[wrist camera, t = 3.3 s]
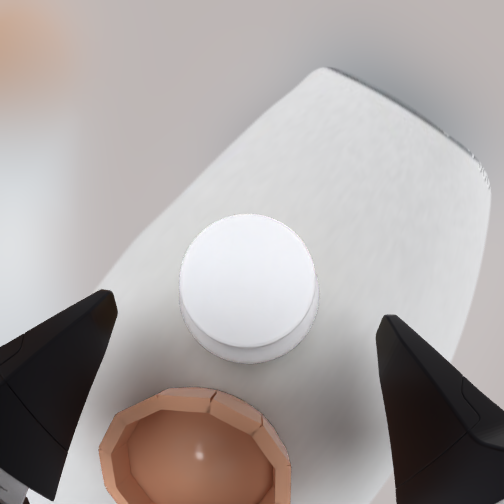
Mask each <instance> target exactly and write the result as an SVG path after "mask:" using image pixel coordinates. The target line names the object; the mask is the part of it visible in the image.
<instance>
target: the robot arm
mask: <svg viewBox="0 0 504 504" xmlns="http://www.w3.org/2000/svg"><path fill="white" fill-rule="evenodd" d="M117 314H118V310H117V306H116V302H115V298H114V295H113V292H112V291H110V290H103V289H101V290H99V291H97V292H95V293H94V294H92V295H90V296H88V297H86V298H85V299H83V300H81V301H79V302H77V303H76V304H74V305H72V306H70V307H69V308H67V309H65V310H63V311H62V312H60V313H58V314H56V315H55V316H53V317H51V318H49V319H48V320H46V321H44V322H43V323H41V324H39V325H37V326H36V327H34V328H32V329H31V330H29V331H27V332H26V333H25V334H22V335H21V336H19V337H17V338H16V339H14V340H12V341H10V342H9V343H7V344H5V345H3V346H1V347H0V504H30V503H29V501H28V498H27V497H26V494H27V491H28V488H30V489H31V490H33V491H35V492H37V493H38V494H40V495H42V496H44V497H45V498H47V499H49V500H51V501H54V499H55V495H56V492H57V488H58V484H59V481H60V477H61V474H62V470H63V467H64V464H65V460H66V457H67V454H68V450H69V447H70V444H71V441H72V438H73V435H74V432H75V429H76V426H77V424H78V421H79V418H80V415H81V413H82V410H83V407H84V404H85V402H86V399H87V397H88V394H89V391H90V389H91V386H92V384H93V381H94V379H95V376H96V374H97V371H98V369H99V367H100V364H101V362H102V359H103V357H104V355H105V352H106V349H107V346H108V343H109V340H110V337H111V333H112V330H113V327H114V324H115V321H116V318H117ZM376 346H377V356H378V367H379V377H380V384H381V389H382V394H383V400H384V405H385V411H386V417H387V423H388V430H389V436H390V444H391V451H392V459H393V468H394V476H395V487H396V502H397V504H504V411H503V410H502V409H501V408H500V407H499V406H497V405H496V404H495V403H493V402H492V401H491V400H490V399H489V398H488V397H486V396H485V395H484V394H483V393H482V392H481V391H479V390H478V389H477V388H476V387H475V386H474V385H473V384H472V383H471V382H470V381H468V380H467V379H466V378H465V377H464V376H463V375H462V374H461V373H460V372H459V371H458V370H457V369H456V368H455V367H454V366H453V365H451V364H450V363H449V362H448V361H447V360H446V359H445V358H444V357H443V356H442V355H441V354H439V353H438V352H437V351H436V350H435V349H434V348H433V347H432V346H431V345H430V344H428V343H427V342H426V341H425V340H424V339H423V338H422V337H421V336H420V335H418V334H417V333H416V332H415V331H414V330H413V329H412V328H410V327H409V326H408V325H407V324H406V323H405V322H404V321H402V320H401V319H400V318H399V317H398V316H397V315H384V316H383V318H382V320H381V323H380V325H379V328H378V330H377V333H376Z"/></svg>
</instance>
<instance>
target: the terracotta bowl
mask: <svg viewBox="0 0 504 504" xmlns="http://www.w3.org/2000/svg"><path fill="white" fill-rule="evenodd" d="M99 448H100V449H99V456H100V462H101V468H102V474H103V479H104V485H105V487H107V488H106V489H107V491H108V492H109V493H110V495H111V496H112V497H113V499H114V500H115V501H116V503H117V504H290V494H291V464H290V460H289V456H288V452H287V449H286V447H285V446H284V445H283V443H282V442H281V440H280V438H279V436H278V434H277V432H276V431H275V429H274V427H273V426H272V425H271V424H270V422H269V421H268V420H267V419H266V418H265V417H264V415H263V414H261V412H259V411H258V410H256V409H255V408H254V407H252V406H251V405H250V404H248V403H246V402H245V401H243V400H241V399H239V398H237V397H235V396H233V395H230V394H228V393H225V392H222V391H219V390H214V389H209V388H201V387H182V388H168V389H166V390H164V391H162V392H160V393H158V394H156V395H154V396H152V397H150V398H148V399H146V400H143V401H141V402H139V403H137V404H135V405H133V406H131V407H129V408H127V409H125V410H123V411H121V412H118V413H117V414H116V415H115V416H114V418H113V420H112V422H111V424H110V426H109V428H108V430H107V432H106V434H105V436H104V438H103V440H102V442H101V444H100V446H99Z"/></svg>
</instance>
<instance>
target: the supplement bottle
mask: <svg viewBox="0 0 504 504" xmlns="http://www.w3.org/2000/svg"><path fill="white" fill-rule="evenodd" d="M319 299H320V291H319V282H318V277H317V274H316V271H315V267H314V263H313V259H312V257H311V255H310V252H309V250H308V248H307V247H306V245H305V244H304V242H303V241H302V239H301V238H300V237H299V236H298V235H297V234H296V233H295V232H294V231H293V230H292V229H291V228H289V227H288V226H286V225H285V224H283V223H281V222H280V221H278V220H275V219H273V218H270V217H267V216H263V215H258V214H237V215H232V216H229V217H225V218H222V219H220V220H218V221H216V222H214V223H212V224H211V225H209V226H208V227H206V228H205V229H204V230H203V231H201V232H200V233H199V234H198V235H197V236H196V238H195V239H194V240H193V241H192V243H191V244H190V246H189V247H188V249H187V251H186V253H185V255H184V257H183V261H182V264H181V268H180V274H179V302H180V309H181V313H182V316H183V319H184V321H185V324H186V326H187V328H188V329H189V331H190V333H191V334H192V336H193V337H194V338H195V339H196V340H197V341H198V343H199V344H200V345H202V346H203V347H204V348H205V349H206V350H208V351H209V352H211V353H212V354H214V355H216V356H218V357H220V358H222V359H225V360H228V361H231V362H235V363H242V364H256V363H263V362H267V361H270V360H273V359H276V358H278V357H280V356H283V355H284V354H286V353H288V352H289V351H291V350H292V349H293V348H295V347H296V346H297V345H298V344H299V343H300V342H301V341H302V340H303V339H304V337H305V336H306V335H307V333H308V332H309V330H310V329H311V327H312V325H313V323H314V320H315V317H316V314H317V310H318V306H319Z"/></svg>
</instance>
